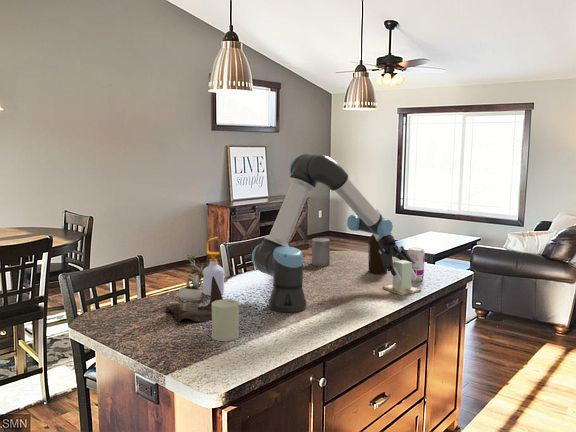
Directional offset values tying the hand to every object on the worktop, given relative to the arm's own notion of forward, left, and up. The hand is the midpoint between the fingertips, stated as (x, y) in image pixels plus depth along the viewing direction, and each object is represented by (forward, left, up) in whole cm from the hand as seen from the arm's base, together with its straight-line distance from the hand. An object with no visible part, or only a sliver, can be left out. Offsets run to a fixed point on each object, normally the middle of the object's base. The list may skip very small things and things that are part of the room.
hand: (407, 280), depth 231 cm
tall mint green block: (+1, +3, -4) cm, 6 cm away
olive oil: (+21, +30, -6) cm, 37 cm away
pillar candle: (+12, +61, -6) cm, 63 cm away
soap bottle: (-64, +56, -6) cm, 85 cm away
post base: (+1, +3, -5) cm, 6 cm away
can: (-92, +13, -6) cm, 93 cm away
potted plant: (-85, +39, -6) cm, 94 cm away
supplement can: (+22, +9, -6) cm, 24 cm away
